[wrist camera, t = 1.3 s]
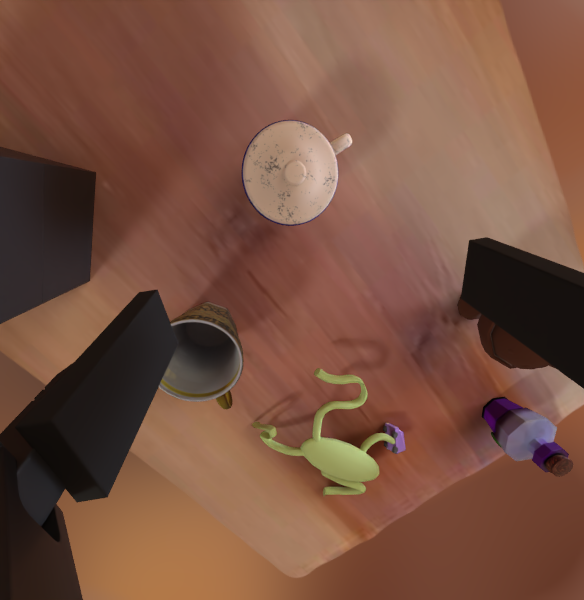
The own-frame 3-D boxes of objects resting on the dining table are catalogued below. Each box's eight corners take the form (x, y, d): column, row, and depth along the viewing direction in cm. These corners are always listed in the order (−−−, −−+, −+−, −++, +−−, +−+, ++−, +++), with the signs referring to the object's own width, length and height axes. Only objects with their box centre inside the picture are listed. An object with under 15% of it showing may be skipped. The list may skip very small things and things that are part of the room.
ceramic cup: (158, 307, 38) (125, 342, 29) (227, 278, 38) (217, 304, 29) (204, 382, 43) (189, 433, 33) (266, 357, 43) (268, 401, 33)
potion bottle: (464, 425, 51) (522, 488, 40) (488, 384, 49) (557, 440, 38) (503, 432, 53) (569, 495, 42) (528, 394, 51) (605, 449, 39)
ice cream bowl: (502, 254, 41) (628, 282, 27) (513, 318, 45) (628, 372, 31) (433, 284, 42) (523, 327, 28) (450, 346, 46) (536, 411, 32)
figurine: (334, 341, 43) (345, 360, 38) (417, 443, 52) (435, 470, 46) (239, 410, 45) (236, 438, 40) (334, 497, 54) (342, 530, 48)
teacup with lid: (271, 233, 37) (277, 248, 26) (230, 166, 34) (217, 150, 23) (353, 182, 36) (395, 175, 25) (318, 108, 33) (348, 63, 22)
